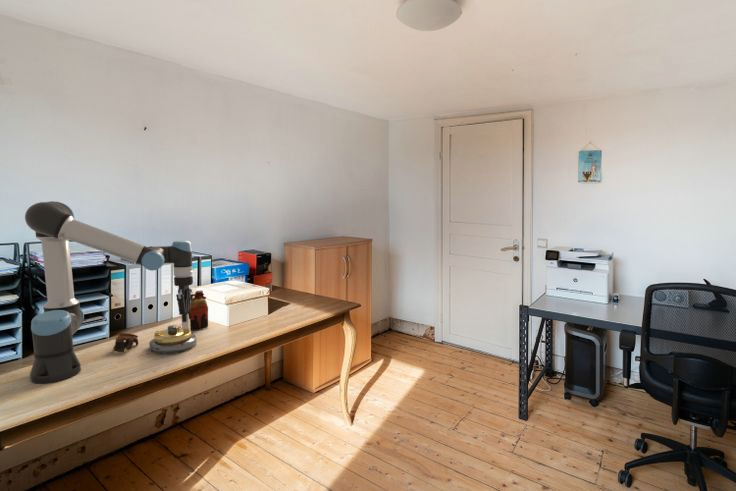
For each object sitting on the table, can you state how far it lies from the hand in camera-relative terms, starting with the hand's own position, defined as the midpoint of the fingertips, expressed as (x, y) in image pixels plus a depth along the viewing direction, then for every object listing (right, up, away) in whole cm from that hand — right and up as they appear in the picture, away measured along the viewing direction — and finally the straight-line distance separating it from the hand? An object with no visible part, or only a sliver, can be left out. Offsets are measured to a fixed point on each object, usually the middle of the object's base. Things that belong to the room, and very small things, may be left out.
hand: (185, 328), depth 181 cm
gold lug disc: (-6, -5, +1) cm, 8 cm away
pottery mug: (-25, -9, -2) cm, 27 cm away
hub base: (-6, -8, +2) cm, 11 cm away
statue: (-7, -6, +27) cm, 28 cm away
